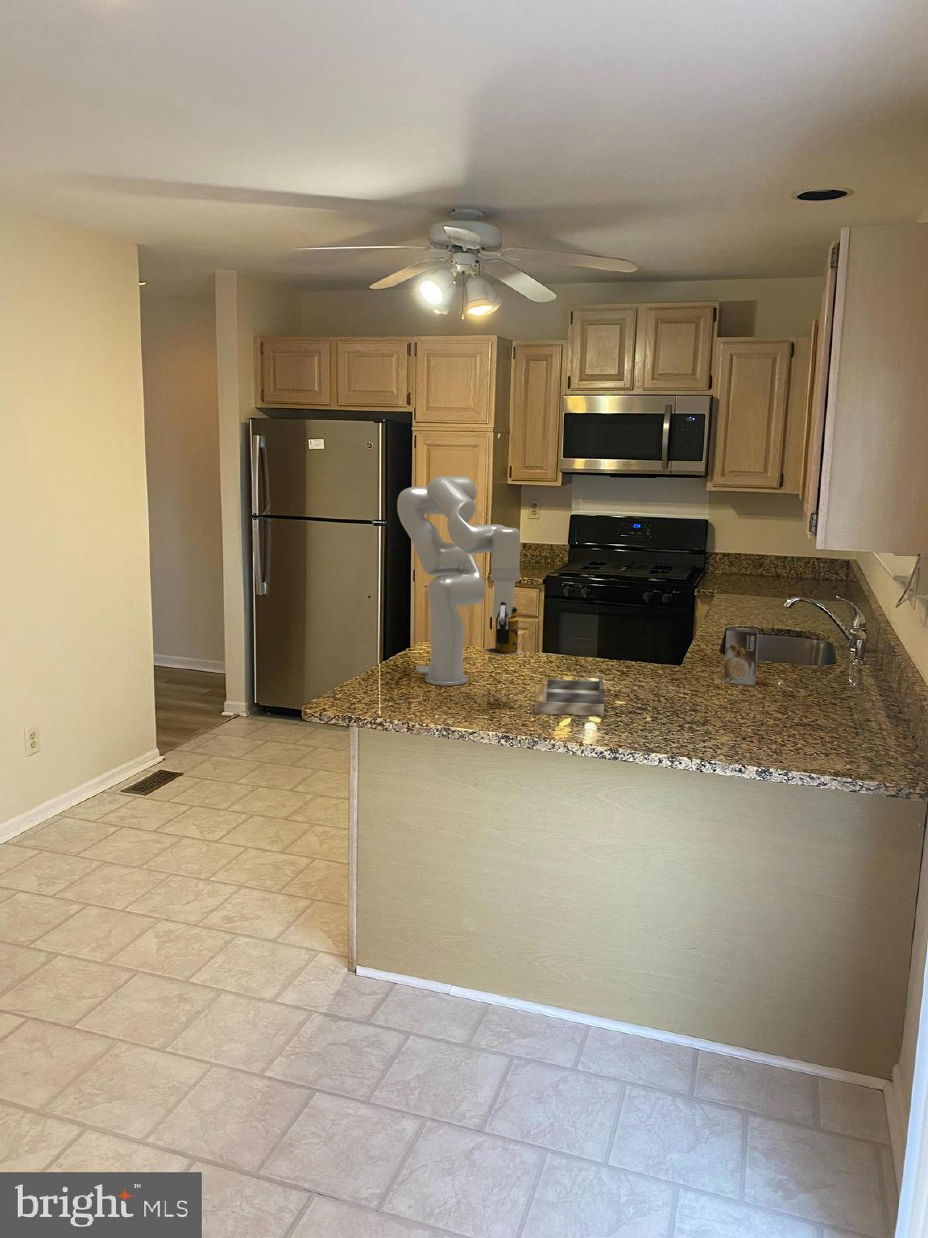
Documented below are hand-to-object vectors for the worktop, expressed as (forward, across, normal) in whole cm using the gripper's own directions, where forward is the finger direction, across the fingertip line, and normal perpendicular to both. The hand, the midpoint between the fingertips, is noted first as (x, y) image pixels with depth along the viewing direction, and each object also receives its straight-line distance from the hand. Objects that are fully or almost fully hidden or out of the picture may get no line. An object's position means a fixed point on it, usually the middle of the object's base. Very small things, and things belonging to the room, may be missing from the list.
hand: (503, 640), depth 249 cm
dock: (+18, 0, +18) cm, 25 cm away
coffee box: (+18, -35, +68) cm, 79 cm away
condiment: (+3, 0, 0) cm, 3 cm away
